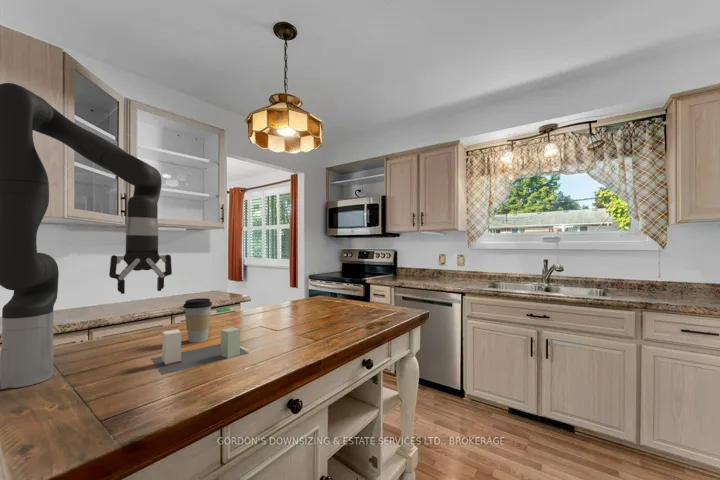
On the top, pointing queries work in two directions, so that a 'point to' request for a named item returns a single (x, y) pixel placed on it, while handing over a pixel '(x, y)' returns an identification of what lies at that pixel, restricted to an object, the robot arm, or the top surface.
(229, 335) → the sage block
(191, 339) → the coffee cup
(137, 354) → the top surface
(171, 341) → the cream block
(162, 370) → the mat
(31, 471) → the top surface
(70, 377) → the top surface
